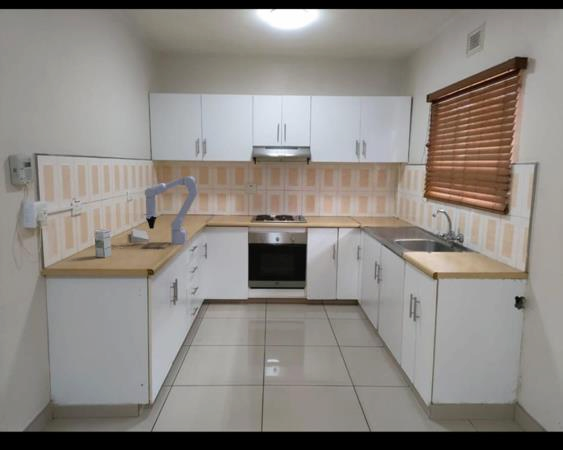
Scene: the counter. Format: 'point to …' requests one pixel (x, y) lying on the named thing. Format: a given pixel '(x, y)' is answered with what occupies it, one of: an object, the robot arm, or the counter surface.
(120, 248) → the counter surface
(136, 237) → the decorative molding
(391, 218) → the counter surface
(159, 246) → the laid plank
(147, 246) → the board
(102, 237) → the syrup box
